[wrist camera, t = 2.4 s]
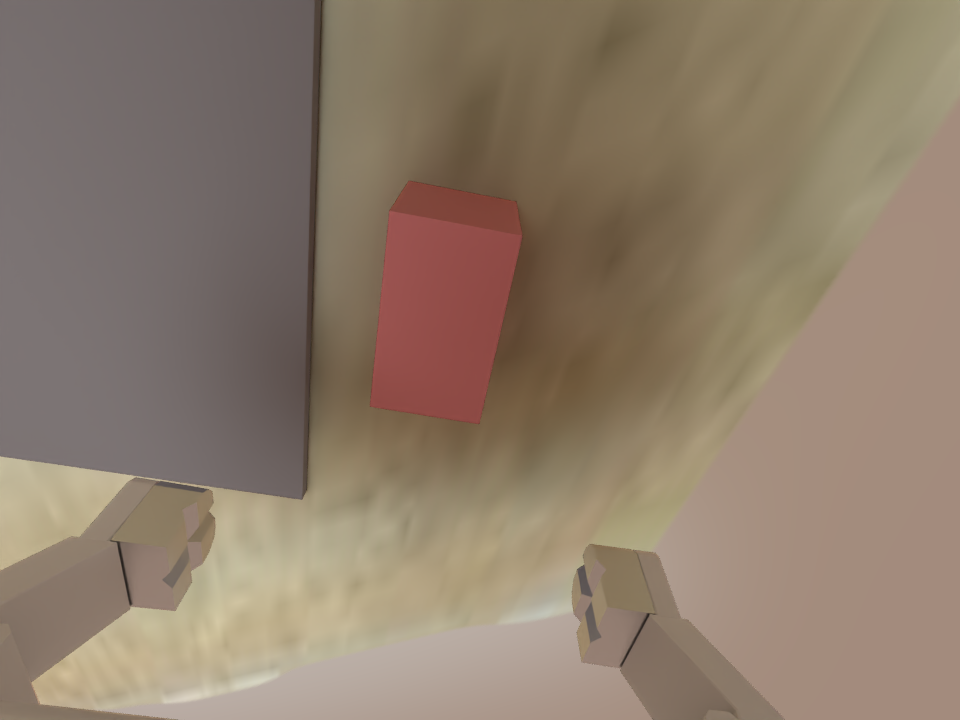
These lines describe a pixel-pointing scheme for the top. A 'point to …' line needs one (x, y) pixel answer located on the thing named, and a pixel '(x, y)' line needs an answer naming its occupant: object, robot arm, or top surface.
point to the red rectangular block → (443, 300)
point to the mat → (159, 237)
